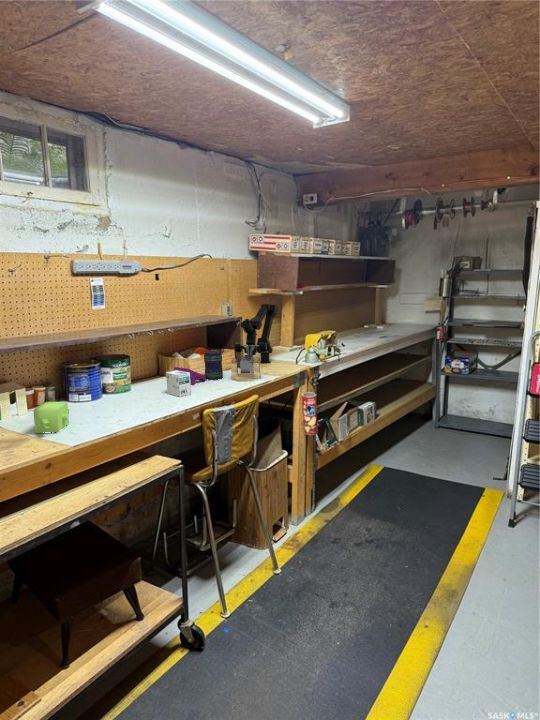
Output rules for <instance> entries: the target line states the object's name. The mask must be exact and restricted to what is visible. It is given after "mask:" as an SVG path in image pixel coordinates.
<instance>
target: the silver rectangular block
mask: <svg viewBox="0 0 540 720" xmlns="http://www.w3.org/2000/svg"><path fill="white" fill-rule="evenodd" d="M254 359H255V358H254V355H247V354H244V355H243V357H242V358H241V359H240V361H239V368H240V373H253V372H254V364H253V363H254Z"/></svg>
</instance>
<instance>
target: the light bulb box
mask: <svg viewBox="0 0 540 720" xmlns="http://www.w3.org/2000/svg"><path fill="white" fill-rule="evenodd" d="M165 376H166V388H167V389H166V393H167V395H171V394H172V395H171V396H174V395H175V396H176V397H178V396H179V397H180V398H181V396H182V397H186V396H189V395H192V386H191V383H190V373H189V372H183V371H178V370H176V371H173V370H171V371H166V372H165ZM185 395H186V396H185Z"/></svg>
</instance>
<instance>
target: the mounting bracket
mask: <svg viewBox="0 0 540 720" xmlns="http://www.w3.org/2000/svg"><path fill="white" fill-rule="evenodd" d="M176 370H178V371H183V372H189V373H190V383H191V385H192V386H193V385H195V382H196V380H198V379H200V380H199V381H207V380H206V376H205V374H202V373H199V372H197V371H195V370H193V369H191V368H186V367H178V366H174V367H173V370H172V371H176Z"/></svg>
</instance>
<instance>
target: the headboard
mask: <svg viewBox="0 0 540 720" xmlns="http://www.w3.org/2000/svg"><path fill="white" fill-rule="evenodd" d="M253 359H254V363H253V364H254V373H241V372H239V369H238V361H237V358H234V357H233V358H232V359H231V363H230V370H231V380H232V381H236V382H254V381H255V380H254V379H260V380H261V363H260V358H258V357H255V358H253ZM253 380H254V381H253Z"/></svg>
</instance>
